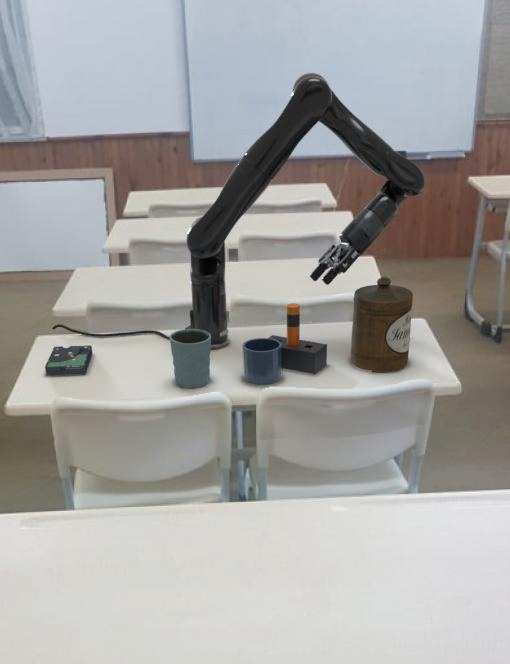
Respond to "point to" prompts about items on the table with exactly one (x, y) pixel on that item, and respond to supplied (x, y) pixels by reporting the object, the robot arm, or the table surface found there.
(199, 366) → the grey-green cup
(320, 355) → the holder
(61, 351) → the disk drive
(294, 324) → the screwdriver
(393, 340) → the wooden container
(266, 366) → the pencil cup
